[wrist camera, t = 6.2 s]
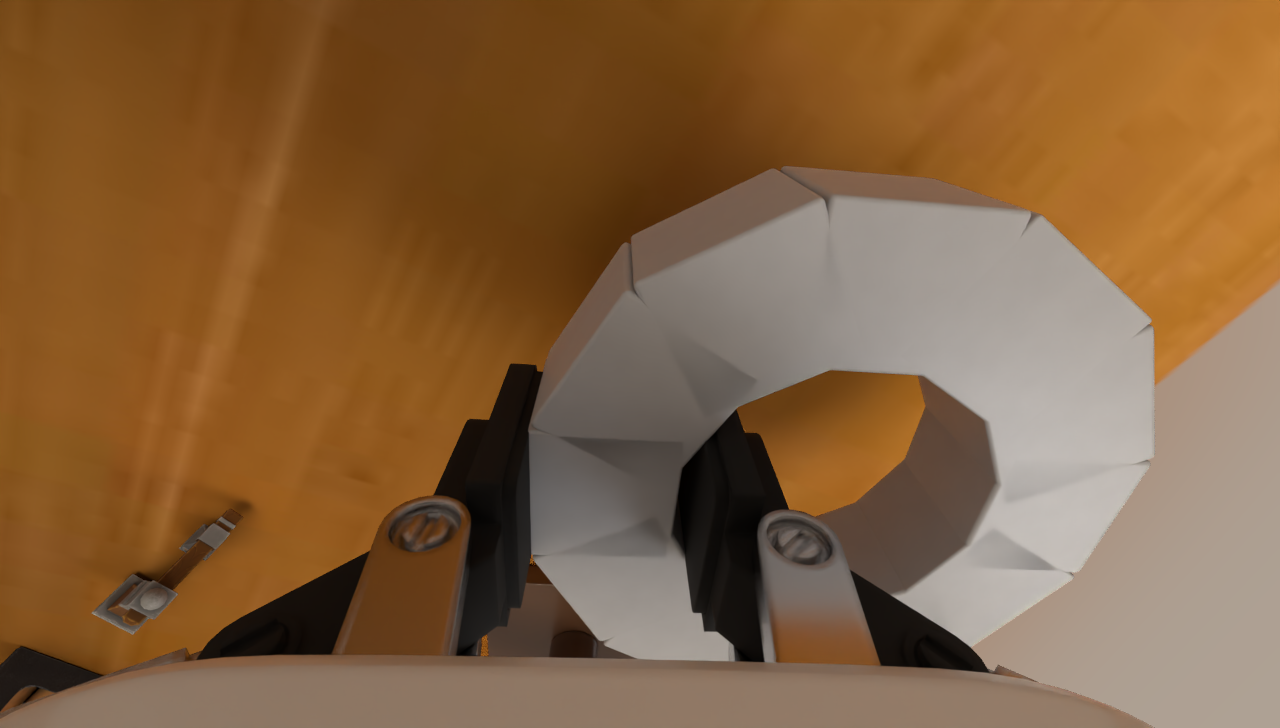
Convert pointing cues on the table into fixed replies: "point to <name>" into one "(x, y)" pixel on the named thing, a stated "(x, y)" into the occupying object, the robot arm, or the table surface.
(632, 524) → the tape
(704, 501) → the robot arm
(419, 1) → the table surface
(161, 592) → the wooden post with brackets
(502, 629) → the stand
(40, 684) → the ammunition clip
